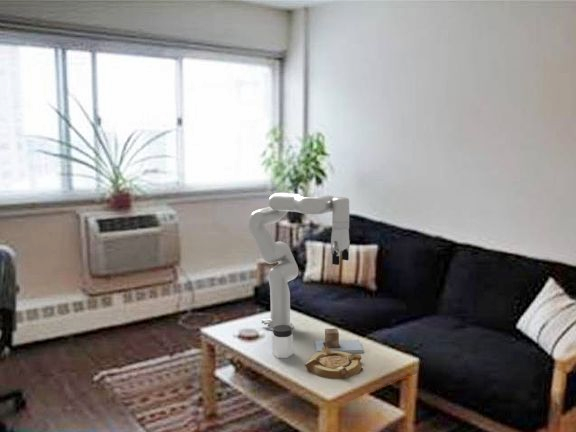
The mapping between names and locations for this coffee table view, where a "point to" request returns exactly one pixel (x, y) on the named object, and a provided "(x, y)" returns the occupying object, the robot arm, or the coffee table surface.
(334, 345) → the block
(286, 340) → the jar
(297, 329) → the coffee table surface
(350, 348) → the pocket board
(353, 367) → the ashtray
